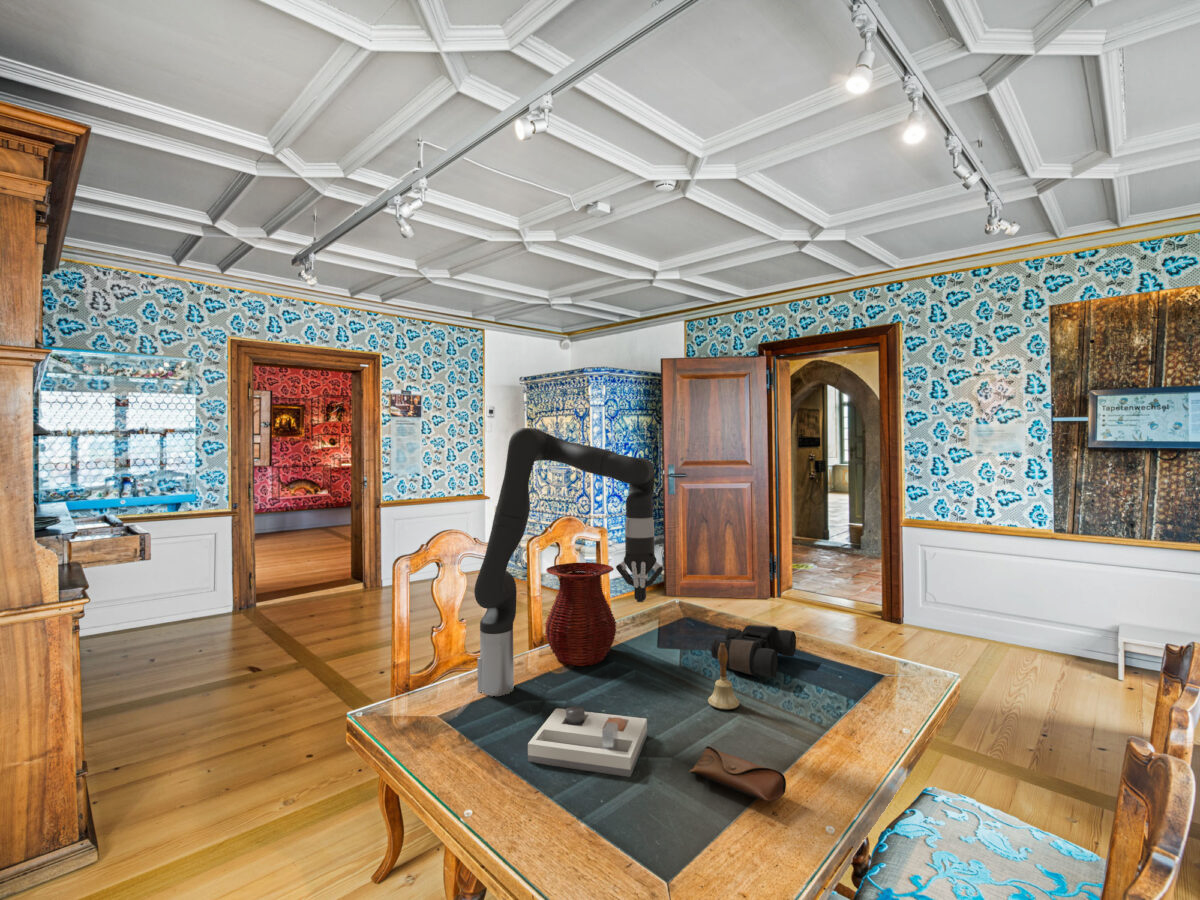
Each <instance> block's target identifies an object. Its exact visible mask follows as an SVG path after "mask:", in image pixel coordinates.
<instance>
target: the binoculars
mask: <svg viewBox="0 0 1200 900" xmlns="http://www.w3.org/2000/svg"><path fill="white" fill-rule="evenodd" d="M724 638H725V639H724ZM724 638H720V637H714V638H713V640H712V642H711V647H710V653H711V657H712V658H713V659H715V660H718V650H719V647H720V643H725V646H726V649H727V653H728V660H727V664H726V668H728V669H730V670H733V671H737V672H739V673H740V672H741V673H744V674H747V675H750V676H754V677H756V676H758V675H759V676H762V677H765V678H771V679H774V678H776V675H777V674H778V670H779V669H778V668H779V655H782V656H785V657H794V655H795V654H796V649H797V636H796V633H795V631H792V630H788V629H779V628H778V627H777V626H772V625H759V624H757V625H755V624H749V625H746V626H745V627H744V628H743V630H741V629H739V628H733V627H729V628H727V629H726V633H725V637H724Z"/></svg>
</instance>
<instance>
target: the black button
mask: <svg viewBox="0 0 1200 900" xmlns="http://www.w3.org/2000/svg"><path fill="white" fill-rule="evenodd" d="M565 709H566V723H567V724H569V725H580V724H583V723H584V721H585V720H584V712H585V708H584V707H583V706H580V705H573V706H571V705H570V706H568V707H567V708H565Z"/></svg>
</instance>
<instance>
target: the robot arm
mask: <svg viewBox="0 0 1200 900" xmlns="http://www.w3.org/2000/svg"><path fill="white" fill-rule="evenodd" d="M507 447H508V448H507V453H506V454H507V455H506V461H505V462H506V463H505V469H504V476H503V480H502V483H501V488H500V493H499V495H498V500H497V503H496V508H495V512H494V516H493V520H492V525H491V530H490V534H489V539H488V542H487V547H486V551H485V555H484V558H483V561H482V562H481V563H482V564H481V567H480V569H479V572H478V575H477V577H476V581H475V584H474V590H473V591H474V593H473V594H474V598H475V600H476V601H475V602H476V603H477V604H478V605H479V606H480V608H483V609H486V611H485V613H484V615H483V616H482V618H481V619H480V622H479V640H480V641H479V647H480V649H479V654H480V656H479V657H477V660H476V662H477V692H478V691H481V692H483V693H484V694H486V695H490V696H489V697H493V696H495V697H500V696H502V695H503V696H506V695H509V694H510V692H511V693H512V692H513V691H514V690H515V688H514V684H515V681H514V679H515V678H514V676H515V673H514V666H515V665H514V664H515V663H514V621H515V619H516V615H517V594H518V593H517V584H516V581H515V580H516V579H515V578H514V576H513V575H512V574H511V573H510V571H507V569H508V565H509V563H510V560H511V558H512V556H513V554H514V553H515V551H516V549H517V547H518V546H519V544H520V543H521V541H522V538H523V537H524V534H525V532H526V528H527V525H528V521H529V520H528V519H529V515H530V510H531V501H530V500H531V499H530V493H529V492H530V490H529V489H530V488H529V484H530V478H531V475H532V474H531V473H532V471H533V467H534V464H535V462H537V461H546V462H547V461H550V462H555V463H556V462H557V463H562V464H565V465H567V466H571V467H572V468H573V467H574V468H575V469H578V470H580V471H582V472H584V473H585V472H586V473H589V474H592V475H596V476H601V477H605V478H611V479H613V480H616V481H619V482H621V483H625V484H628V485H629V487H628V488H629V489H628V495H627V497H626V500H625V523H624V524H625V525H624V534H625V535H624V538H625V539H624V540H625V541H624V542H625V543H624V544H625V546H624V547H625V549H624V550H625V552H624V553H625V555H624V556H623V561H622V562H620V563H618V564H617V565H616V566H615V569H616V571H618V573H619V574H620V576H621V577H622V578H623V580H624V581H625V583H626V584H627V585H628V586H632V587H633V588H634V589H633V590H634V591H633V592H634V600H636V602H637V603H643V602H645V600H646V599H647V587H650V586H652V585H653V584H654V582H655V581H656V580H657V578H658V577H659V576H660V575H661V573H662V572H663V571H664V570H665V566H664V565H663V564H662V565H661V564H660V563H659V562H658V561H657V557H656V553H655V523H654V505H653V504H654V502H653V496H654V488H655V478H656V477H655V476H656V473H655V468H654V467H655V466H654V464H653V463H652V462H651V460H649V459H648V458H646V457H634V456H629V455H624V454H619V453H617V452H615V451H612V450H609V449H604V448H600V447H596V446H591V445H587V444H580V443H576V442H572V441H568V440H566V439H565V440H564V439H561V438H559V437H556V436H553V435H552V434H549V433H547V432H545V431H543V430H540V429H538V428H534V427H532V428H530V427H523V428H519V429H517V430H516V431H514V432H513V433H512V435H511V437H510V439H509V442H508V446H507ZM653 567H654V568H653ZM627 568H628V570H629V571H630V573H632V575H630V573H629V572H628V570H627ZM652 569H653V571H654V573H653V574H652V575H651V577H650V578H649V579H648V574H649V573H650V572H651V571H652ZM481 692H480V693H481ZM484 694H483V695H484ZM505 694H506V695H505ZM486 695H485V696H486ZM503 696H502V697H503Z"/></svg>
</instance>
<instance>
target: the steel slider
mask: <svg viewBox="0 0 1200 900" xmlns="http://www.w3.org/2000/svg"><path fill="white" fill-rule="evenodd" d="M602 741H603V749H608V750H615V751H617V750H618V724H617V723H609V722H607V724H606V725H605V727H604V729H603V731H602Z"/></svg>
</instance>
